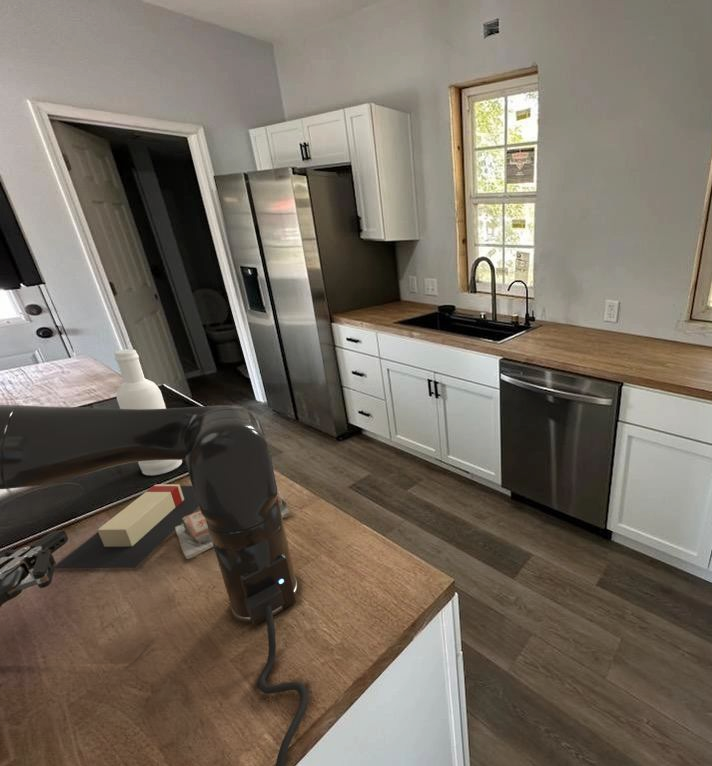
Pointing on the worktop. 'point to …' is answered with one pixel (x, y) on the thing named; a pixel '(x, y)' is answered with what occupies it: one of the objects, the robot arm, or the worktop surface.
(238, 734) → the worktop surface
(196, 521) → the packaged product
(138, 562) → the mat
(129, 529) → the carton
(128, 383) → the bottle
